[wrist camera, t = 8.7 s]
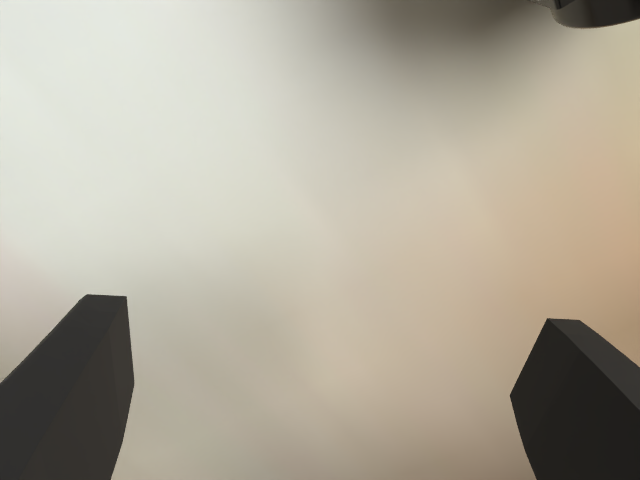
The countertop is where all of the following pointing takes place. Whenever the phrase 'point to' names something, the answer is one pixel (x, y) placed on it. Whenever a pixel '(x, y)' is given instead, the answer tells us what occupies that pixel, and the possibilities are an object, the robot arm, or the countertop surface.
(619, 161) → the countertop surface
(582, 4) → the pneumatic valve
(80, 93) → the countertop surface
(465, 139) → the countertop surface
